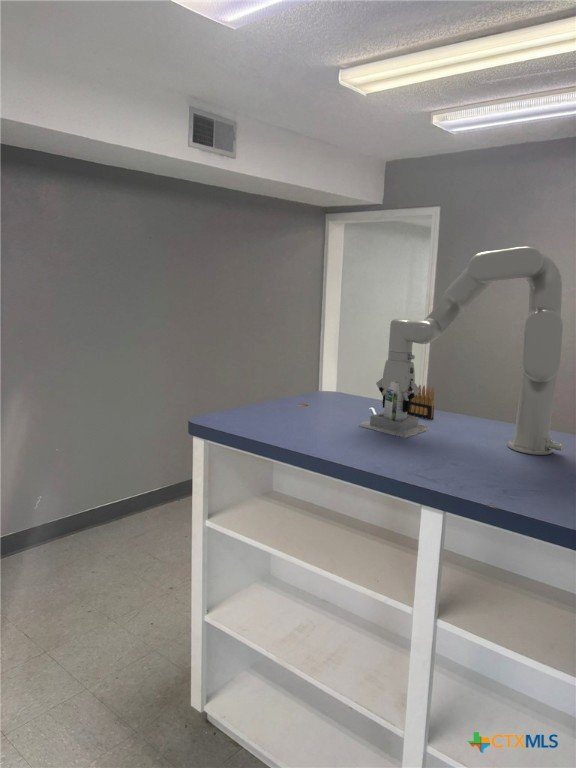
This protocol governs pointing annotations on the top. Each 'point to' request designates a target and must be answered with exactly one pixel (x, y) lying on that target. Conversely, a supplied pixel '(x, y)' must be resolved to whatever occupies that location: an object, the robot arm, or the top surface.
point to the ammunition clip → (423, 404)
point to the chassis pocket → (395, 425)
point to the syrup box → (394, 403)
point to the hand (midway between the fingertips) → (395, 409)
